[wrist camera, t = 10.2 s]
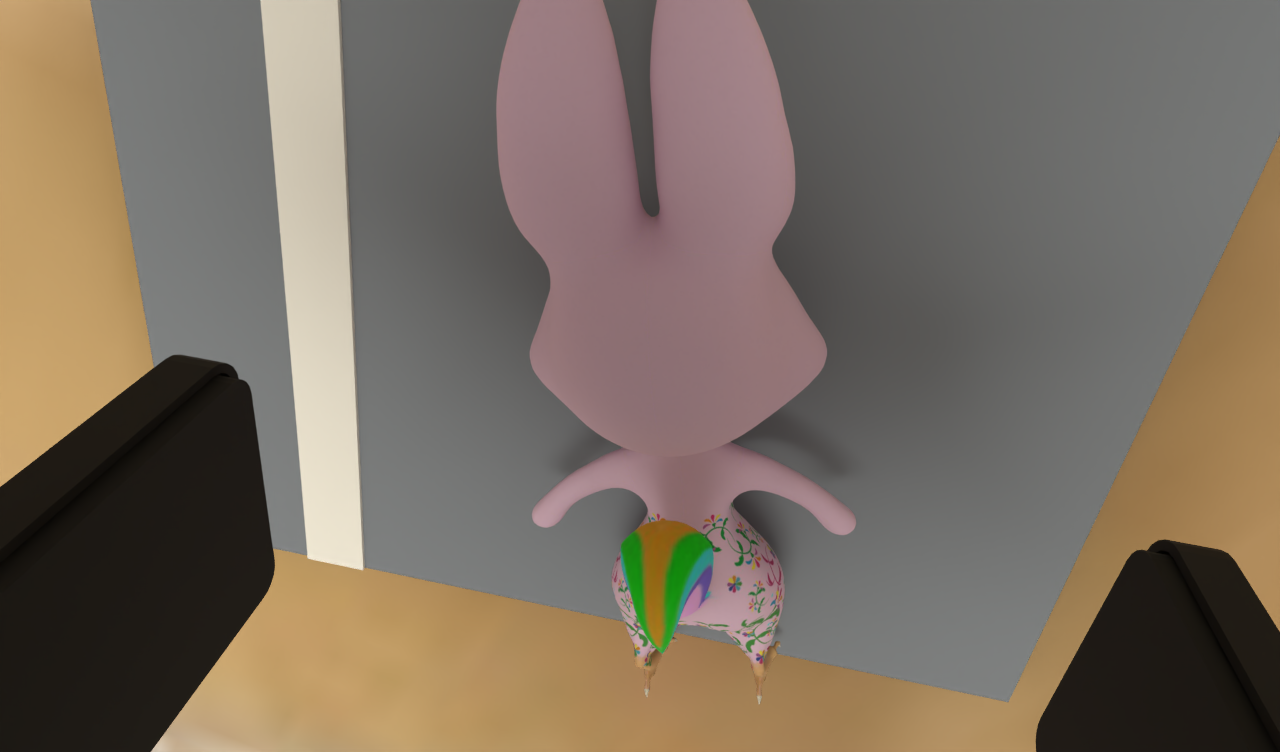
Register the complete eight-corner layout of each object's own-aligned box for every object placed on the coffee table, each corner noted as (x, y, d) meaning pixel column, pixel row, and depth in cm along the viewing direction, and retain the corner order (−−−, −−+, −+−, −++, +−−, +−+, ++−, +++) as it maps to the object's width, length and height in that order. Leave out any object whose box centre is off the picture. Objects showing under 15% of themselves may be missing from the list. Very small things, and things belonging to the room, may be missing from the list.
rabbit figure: (845, 588, 21) (870, -134, 12) (859, 847, 16) (918, -24, 7) (589, 579, 22) (435, -86, 13) (532, 818, 17) (229, 37, 8)
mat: (71, -264, 14) (39, -271, 14) (1363, -92, 13) (1392, -92, 12) (196, 514, 22) (179, 531, 21) (1002, 681, 20) (1008, 705, 20)
